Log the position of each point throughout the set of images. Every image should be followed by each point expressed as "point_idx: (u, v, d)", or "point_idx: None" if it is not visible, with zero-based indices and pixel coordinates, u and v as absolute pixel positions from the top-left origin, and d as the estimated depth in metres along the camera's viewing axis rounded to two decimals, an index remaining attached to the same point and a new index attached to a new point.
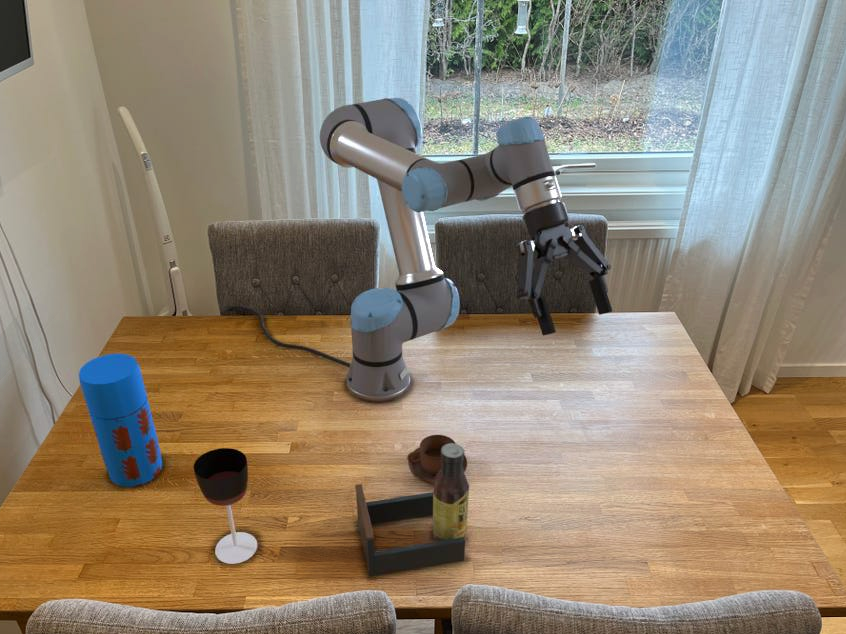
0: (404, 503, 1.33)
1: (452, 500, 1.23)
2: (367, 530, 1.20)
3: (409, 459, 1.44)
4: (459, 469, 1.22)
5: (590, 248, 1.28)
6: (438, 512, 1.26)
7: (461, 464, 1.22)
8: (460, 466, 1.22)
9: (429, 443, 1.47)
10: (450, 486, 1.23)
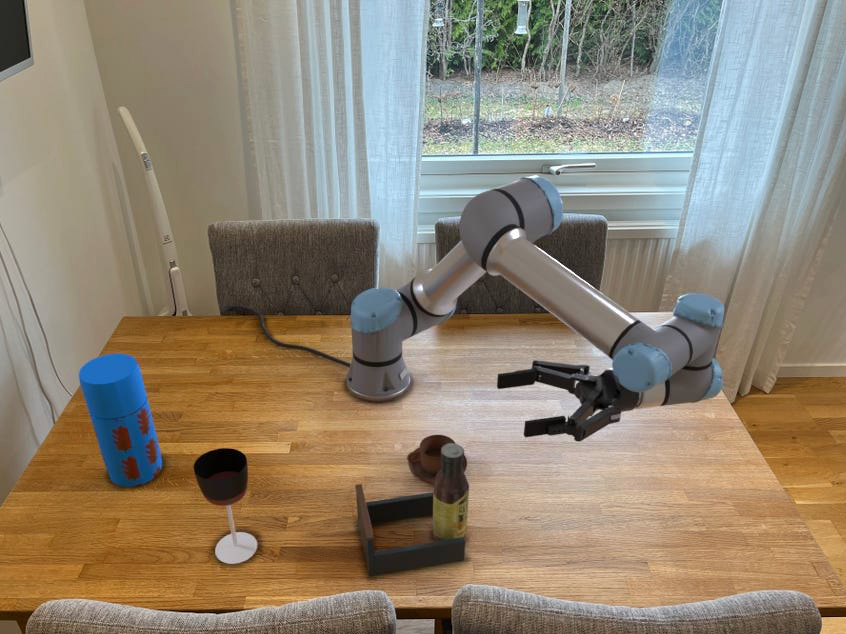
0: (404, 503, 1.33)
1: (452, 500, 1.23)
2: (367, 530, 1.20)
3: (409, 459, 1.44)
4: (459, 469, 1.22)
5: None
6: (438, 512, 1.26)
7: (461, 464, 1.22)
8: (460, 466, 1.22)
9: (429, 443, 1.47)
10: (450, 486, 1.23)
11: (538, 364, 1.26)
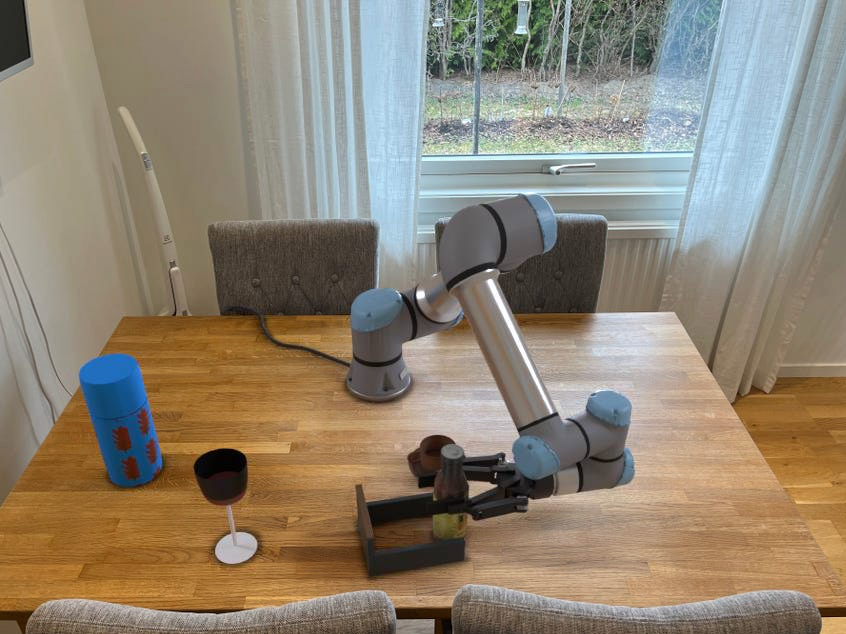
0: (404, 503, 1.33)
1: None
2: (367, 530, 1.20)
3: (409, 459, 1.44)
4: (459, 470, 1.22)
5: None
6: None
7: (461, 465, 1.22)
8: (460, 467, 1.22)
9: (429, 443, 1.47)
10: (450, 487, 1.22)
11: None
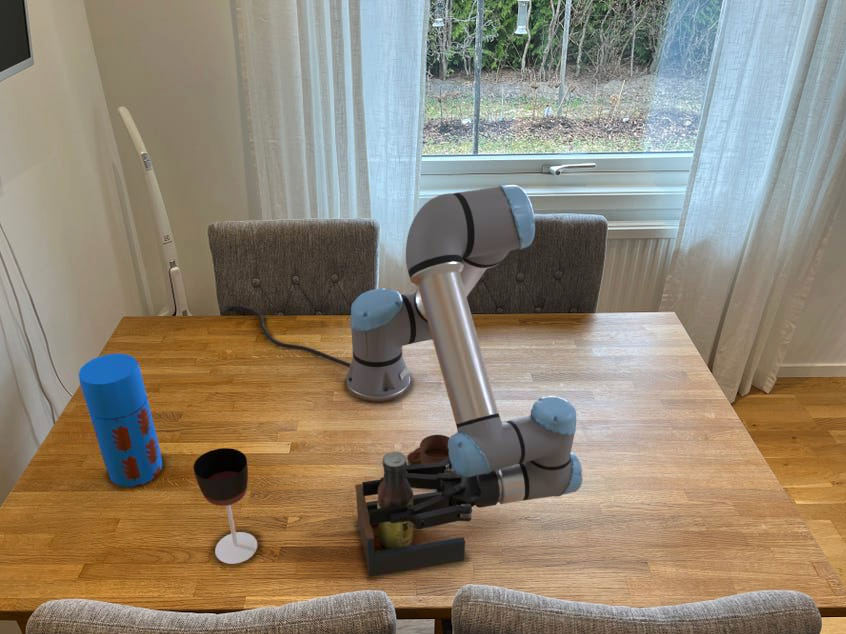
0: None
1: None
2: (367, 530, 1.20)
3: (409, 459, 1.44)
4: (401, 478, 1.20)
5: None
6: None
7: (403, 473, 1.20)
8: (402, 475, 1.20)
9: (429, 443, 1.47)
10: (392, 495, 1.21)
11: (406, 469, 1.29)
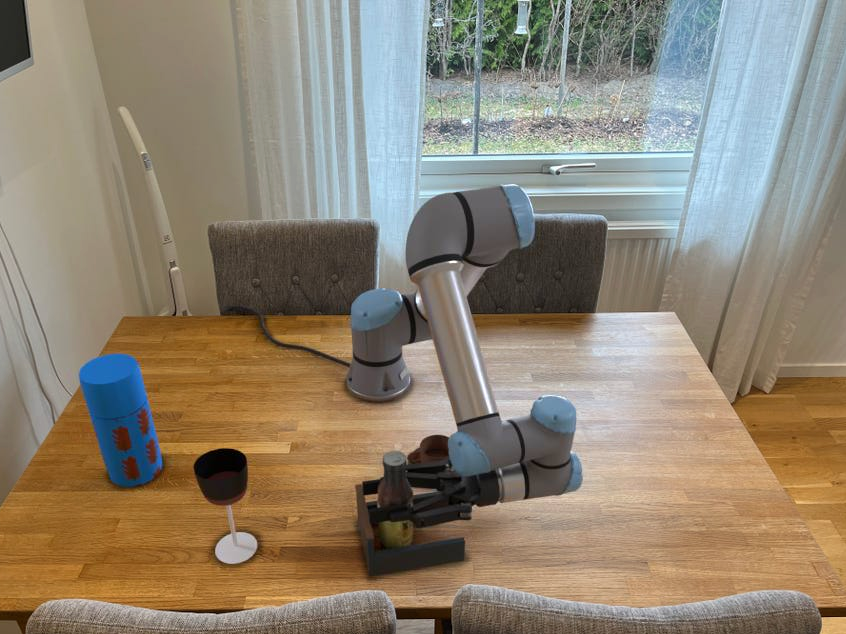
0: None
1: None
2: (367, 530, 1.20)
3: (409, 459, 1.44)
4: (401, 477, 1.20)
5: None
6: None
7: (403, 472, 1.20)
8: (402, 474, 1.20)
9: (429, 443, 1.47)
10: (392, 494, 1.21)
11: (406, 469, 1.29)
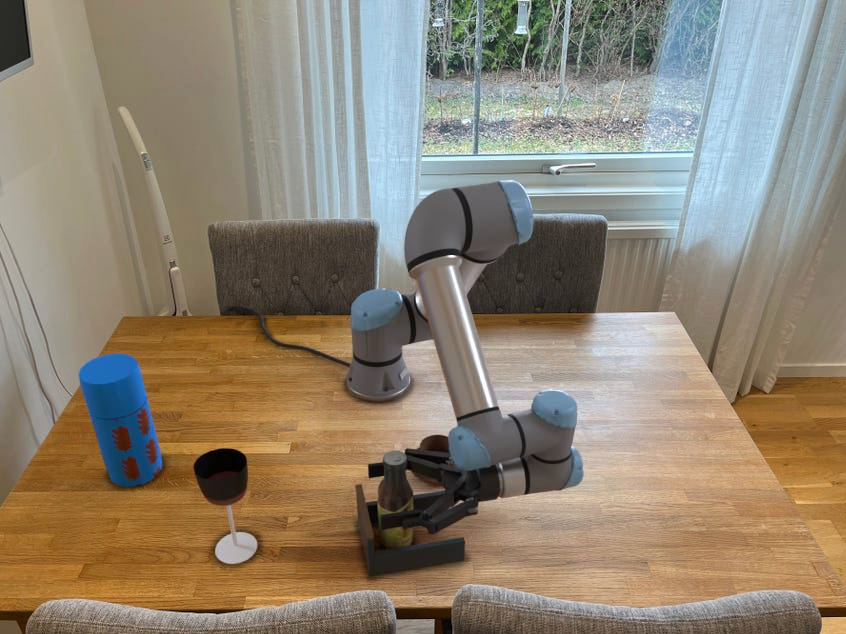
0: None
1: (396, 508, 1.22)
2: (367, 530, 1.20)
3: None
4: (401, 477, 1.21)
5: None
6: None
7: (403, 471, 1.21)
8: (402, 473, 1.20)
9: (429, 443, 1.47)
10: (392, 493, 1.21)
11: (410, 453, 1.31)
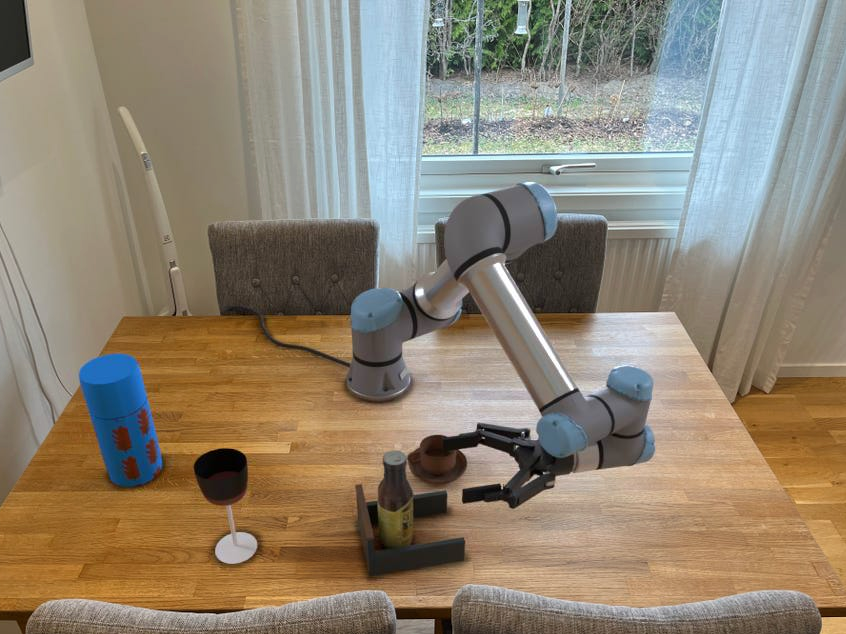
0: None
1: (395, 508, 1.22)
2: (367, 530, 1.20)
3: (409, 459, 1.44)
4: (401, 477, 1.21)
5: None
6: (382, 520, 1.25)
7: (403, 471, 1.21)
8: (402, 473, 1.20)
9: (429, 443, 1.47)
10: (392, 493, 1.21)
11: (482, 427, 1.32)
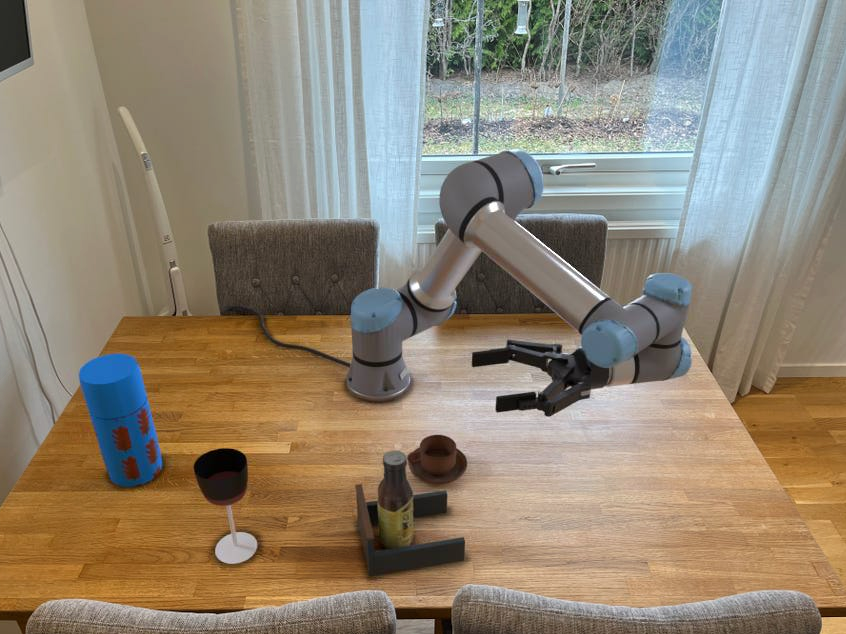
0: None
1: (395, 508, 1.22)
2: (367, 530, 1.20)
3: (409, 459, 1.44)
4: (401, 477, 1.21)
5: None
6: (382, 520, 1.25)
7: (403, 471, 1.21)
8: (402, 473, 1.20)
9: (429, 443, 1.47)
10: (392, 493, 1.21)
11: (512, 343, 1.29)
